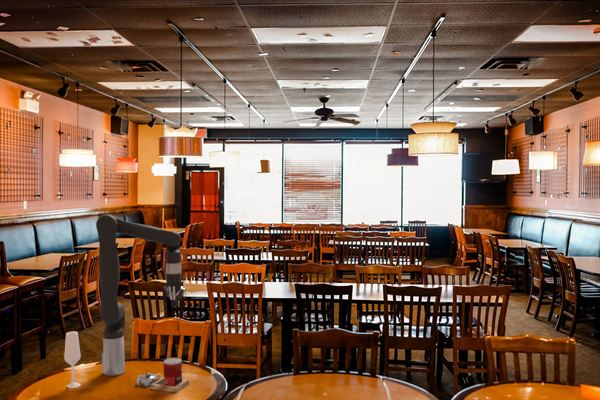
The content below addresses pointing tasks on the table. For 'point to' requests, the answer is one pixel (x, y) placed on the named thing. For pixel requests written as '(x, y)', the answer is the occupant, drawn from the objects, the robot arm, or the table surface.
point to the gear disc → (147, 379)
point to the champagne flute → (72, 354)
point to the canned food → (172, 371)
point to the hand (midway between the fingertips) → (174, 306)
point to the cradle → (158, 386)
